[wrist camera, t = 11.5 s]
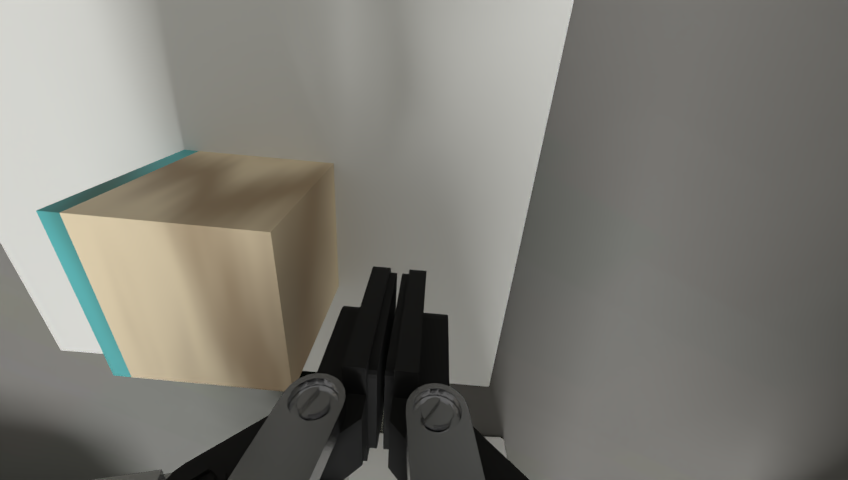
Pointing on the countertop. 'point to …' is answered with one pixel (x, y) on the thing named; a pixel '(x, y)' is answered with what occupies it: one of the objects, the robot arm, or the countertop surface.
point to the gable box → (375, 472)
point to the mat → (295, 131)
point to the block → (204, 266)
